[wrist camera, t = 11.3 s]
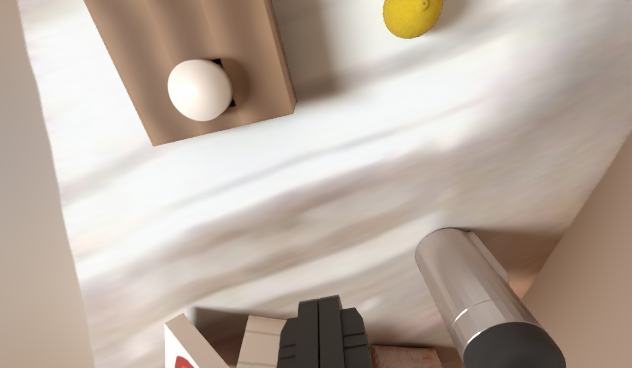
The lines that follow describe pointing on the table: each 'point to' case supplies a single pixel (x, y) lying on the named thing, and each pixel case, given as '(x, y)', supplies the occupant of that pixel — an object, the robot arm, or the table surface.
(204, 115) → the white rounded piece
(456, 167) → the table surface
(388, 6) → the lemon
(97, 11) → the walnut block
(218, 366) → the pizza boxes
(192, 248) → the table surface
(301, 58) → the table surface
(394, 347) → the food item
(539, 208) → the table surface
